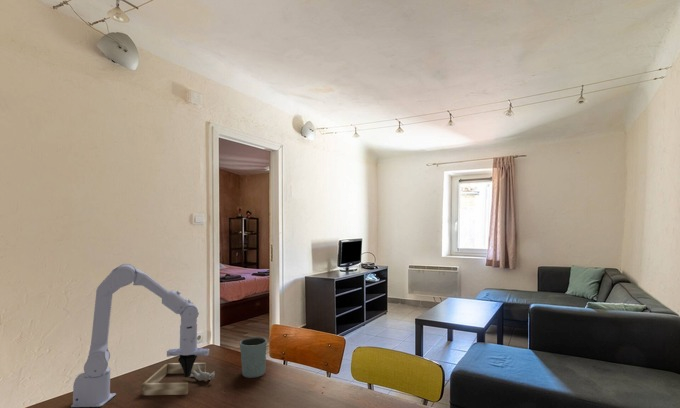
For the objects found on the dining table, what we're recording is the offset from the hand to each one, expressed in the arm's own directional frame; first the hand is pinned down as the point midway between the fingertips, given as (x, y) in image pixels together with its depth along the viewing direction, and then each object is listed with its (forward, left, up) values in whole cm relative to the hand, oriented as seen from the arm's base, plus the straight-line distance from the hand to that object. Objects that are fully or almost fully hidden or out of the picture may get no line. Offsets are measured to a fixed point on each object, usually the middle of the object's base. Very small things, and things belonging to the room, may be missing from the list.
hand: (187, 376), depth 129 cm
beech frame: (-4, 0, -2) cm, 4 cm away
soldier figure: (+4, +2, -3) cm, 5 cm away
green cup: (+22, +8, -2) cm, 23 cm away
